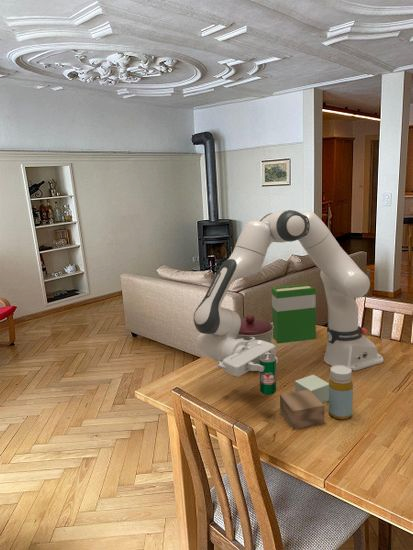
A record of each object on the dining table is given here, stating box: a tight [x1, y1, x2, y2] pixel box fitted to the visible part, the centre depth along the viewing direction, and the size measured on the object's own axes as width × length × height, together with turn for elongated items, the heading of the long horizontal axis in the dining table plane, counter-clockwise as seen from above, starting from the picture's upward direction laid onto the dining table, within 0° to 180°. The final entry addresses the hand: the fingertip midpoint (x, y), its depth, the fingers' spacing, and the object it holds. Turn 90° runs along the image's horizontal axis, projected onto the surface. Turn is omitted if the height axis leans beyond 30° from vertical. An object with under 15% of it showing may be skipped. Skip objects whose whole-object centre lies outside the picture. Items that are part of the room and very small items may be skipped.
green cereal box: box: [271, 283, 317, 345], centre depth 185 cm, size 18×7×24 cm, turn 98°
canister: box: [237, 314, 274, 343], centre depth 161 cm, size 18×18×21 cm
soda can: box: [259, 353, 277, 396], centre depth 127 cm, size 5×5×12 cm
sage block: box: [294, 374, 329, 404], centre depth 136 cm, size 8×8×6 cm
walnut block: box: [279, 389, 325, 430], centre depth 126 cm, size 10×10×6 cm
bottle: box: [328, 365, 354, 420], centre depth 125 cm, size 7×7×15 cm
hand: (270, 364), depth 125 cm, fingers closed on soda can, 5 cm apart
